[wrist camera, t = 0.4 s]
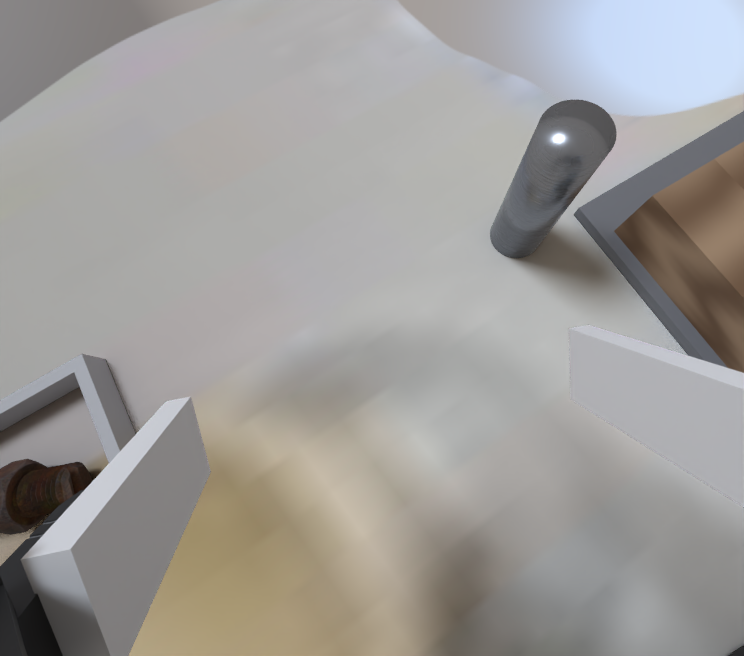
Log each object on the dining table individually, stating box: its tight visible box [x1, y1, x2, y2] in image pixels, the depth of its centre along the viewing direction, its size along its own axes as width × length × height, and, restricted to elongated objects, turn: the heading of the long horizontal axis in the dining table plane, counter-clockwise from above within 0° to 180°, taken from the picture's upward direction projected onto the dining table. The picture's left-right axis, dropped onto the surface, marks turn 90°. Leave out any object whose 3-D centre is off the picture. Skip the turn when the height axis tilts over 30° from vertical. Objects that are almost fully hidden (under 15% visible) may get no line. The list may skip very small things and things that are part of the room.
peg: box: [490, 100, 616, 258], centre depth 27 cm, size 4×4×12 cm
